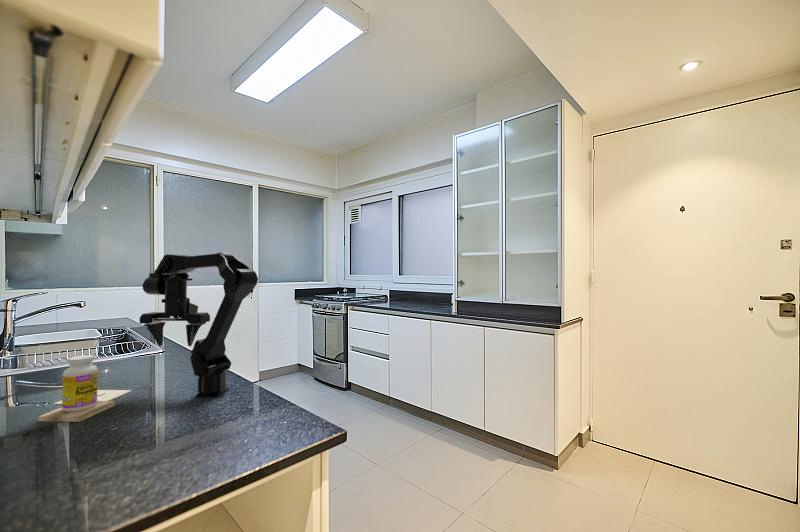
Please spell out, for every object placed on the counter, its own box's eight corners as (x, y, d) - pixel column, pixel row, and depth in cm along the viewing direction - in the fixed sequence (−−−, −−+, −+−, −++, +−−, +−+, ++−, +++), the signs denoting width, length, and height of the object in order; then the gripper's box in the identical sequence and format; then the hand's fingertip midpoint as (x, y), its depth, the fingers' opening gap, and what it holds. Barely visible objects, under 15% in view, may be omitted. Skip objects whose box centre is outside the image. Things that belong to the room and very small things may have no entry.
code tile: (132, 390, 105) (132, 389, 105) (99, 404, 94) (99, 403, 94) (90, 390, 106) (90, 389, 106) (53, 404, 95) (53, 403, 95)
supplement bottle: (72, 414, 85) (73, 361, 85) (55, 410, 87) (56, 359, 87) (103, 404, 91) (104, 355, 91) (87, 401, 93) (87, 353, 94)
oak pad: (114, 405, 94) (114, 401, 94) (79, 421, 84) (79, 416, 84) (78, 405, 94) (78, 400, 94) (38, 421, 84) (38, 416, 84)
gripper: (219, 293, 116) (219, 340, 115) (164, 293, 116) (163, 340, 116) (199, 296, 104) (199, 348, 104) (138, 295, 105) (137, 347, 105)
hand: (175, 345), depth 108 cm, fingers open, 9 cm apart
